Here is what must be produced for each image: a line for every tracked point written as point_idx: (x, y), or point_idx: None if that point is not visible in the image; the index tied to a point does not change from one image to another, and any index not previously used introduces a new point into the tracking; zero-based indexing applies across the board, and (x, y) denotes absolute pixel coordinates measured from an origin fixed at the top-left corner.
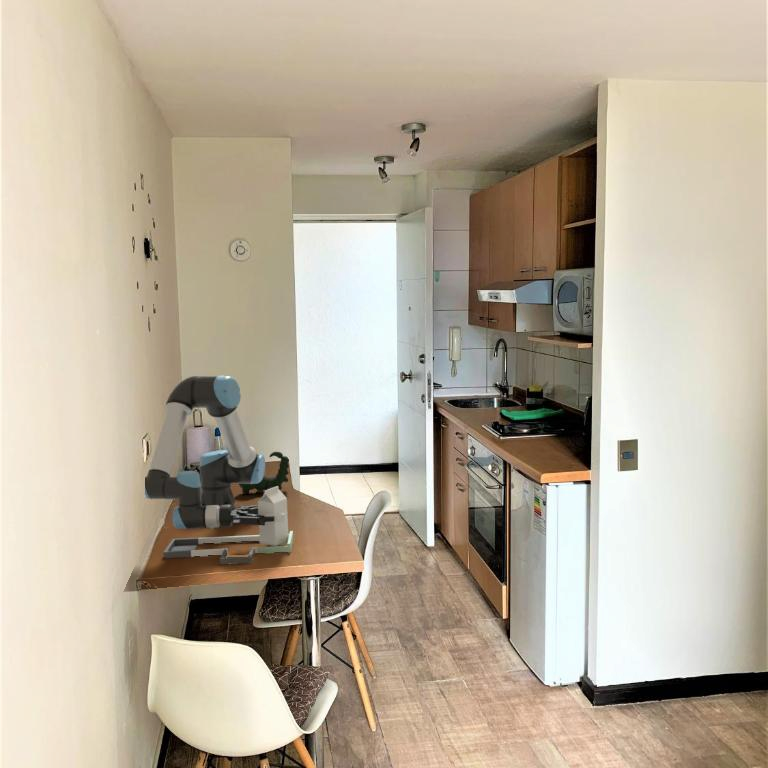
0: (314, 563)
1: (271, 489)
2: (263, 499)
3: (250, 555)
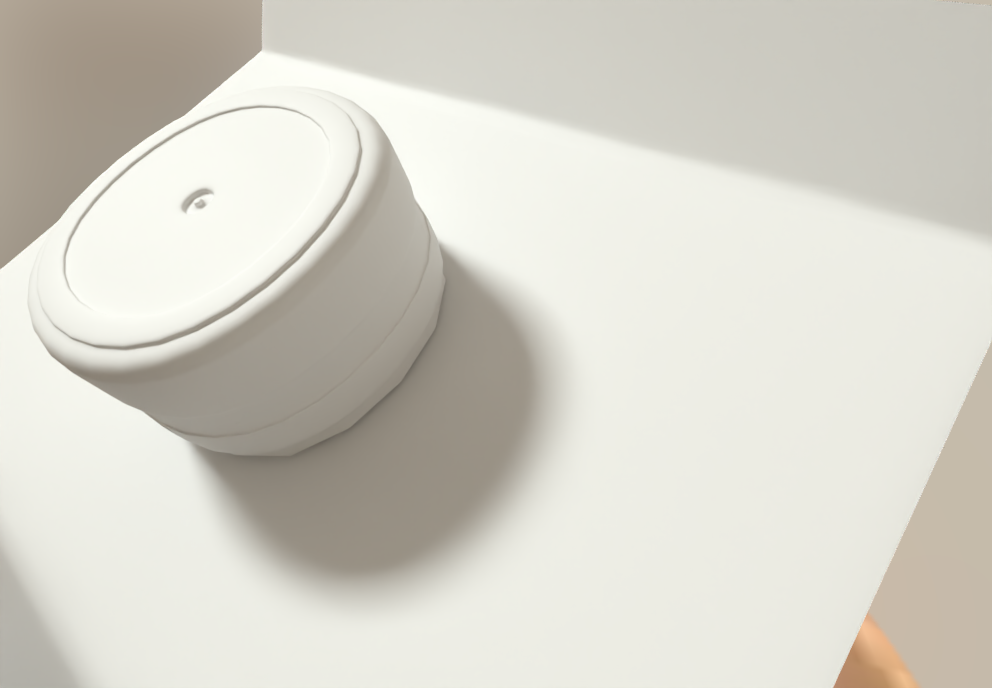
0: (857, 649)
1: (568, 24)
2: (462, 644)
3: None
